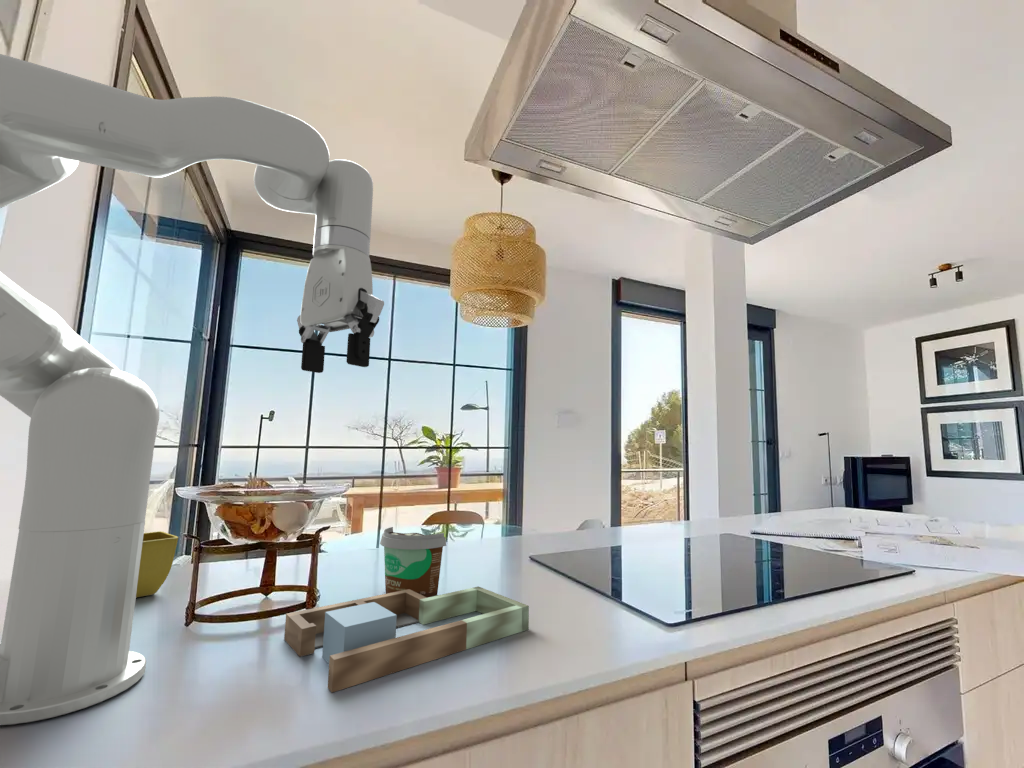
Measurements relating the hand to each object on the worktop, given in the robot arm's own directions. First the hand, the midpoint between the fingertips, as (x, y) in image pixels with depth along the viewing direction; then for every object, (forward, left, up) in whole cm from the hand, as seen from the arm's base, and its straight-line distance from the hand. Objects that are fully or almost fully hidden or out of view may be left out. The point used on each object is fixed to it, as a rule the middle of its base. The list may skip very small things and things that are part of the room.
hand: (334, 368), depth 64 cm
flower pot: (-17, +35, -35) cm, 52 cm away
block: (+2, -9, -35) cm, 36 cm away
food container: (+17, +9, -35) cm, 40 cm away
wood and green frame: (+10, -7, -35) cm, 36 cm away
